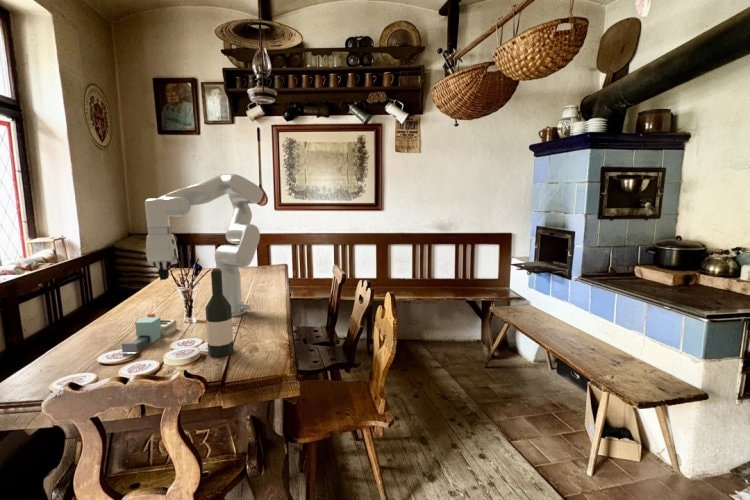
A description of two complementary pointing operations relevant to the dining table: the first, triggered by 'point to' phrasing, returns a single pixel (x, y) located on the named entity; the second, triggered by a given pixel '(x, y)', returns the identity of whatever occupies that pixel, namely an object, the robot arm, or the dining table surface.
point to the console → (167, 327)
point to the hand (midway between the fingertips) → (164, 278)
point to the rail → (136, 344)
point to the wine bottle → (219, 319)
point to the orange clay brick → (151, 315)
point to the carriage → (149, 328)
